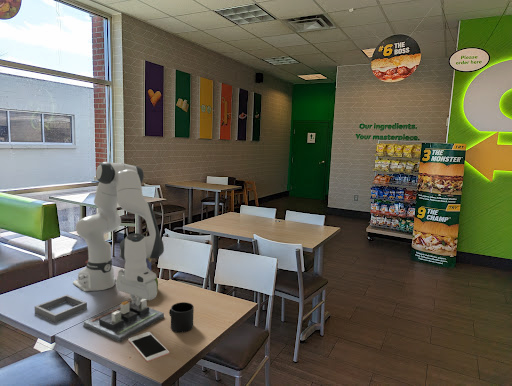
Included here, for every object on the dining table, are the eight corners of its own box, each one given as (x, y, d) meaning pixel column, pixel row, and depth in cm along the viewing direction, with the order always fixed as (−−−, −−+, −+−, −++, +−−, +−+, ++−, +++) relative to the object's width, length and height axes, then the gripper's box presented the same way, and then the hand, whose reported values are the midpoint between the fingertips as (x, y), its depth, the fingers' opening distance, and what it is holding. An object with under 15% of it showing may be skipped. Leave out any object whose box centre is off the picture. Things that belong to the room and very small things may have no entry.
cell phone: (149, 333, 144) (149, 331, 144) (169, 354, 131) (169, 351, 131) (127, 340, 138) (127, 338, 138) (147, 363, 125) (147, 360, 125)
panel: (83, 326, 147) (83, 308, 146) (129, 304, 167) (129, 288, 166) (119, 342, 136) (119, 323, 135) (163, 317, 157) (164, 300, 156)
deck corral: (34, 312, 156) (34, 306, 155) (66, 300, 169) (66, 294, 168) (55, 322, 149) (54, 315, 148) (87, 308, 162) (86, 302, 161)
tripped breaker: (120, 312, 150) (120, 302, 150) (126, 310, 153) (126, 300, 152) (123, 314, 149) (123, 304, 149) (129, 311, 152) (129, 301, 151)
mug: (176, 317, 157) (177, 298, 156) (197, 325, 151) (198, 305, 150) (161, 326, 149) (161, 306, 148) (182, 335, 143) (183, 314, 142)
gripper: (112, 270, 148) (113, 301, 150) (148, 280, 138) (148, 313, 140) (124, 266, 154) (125, 296, 155) (159, 275, 144) (159, 307, 146)
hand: (136, 304), depth 148 cm, fingers closed
